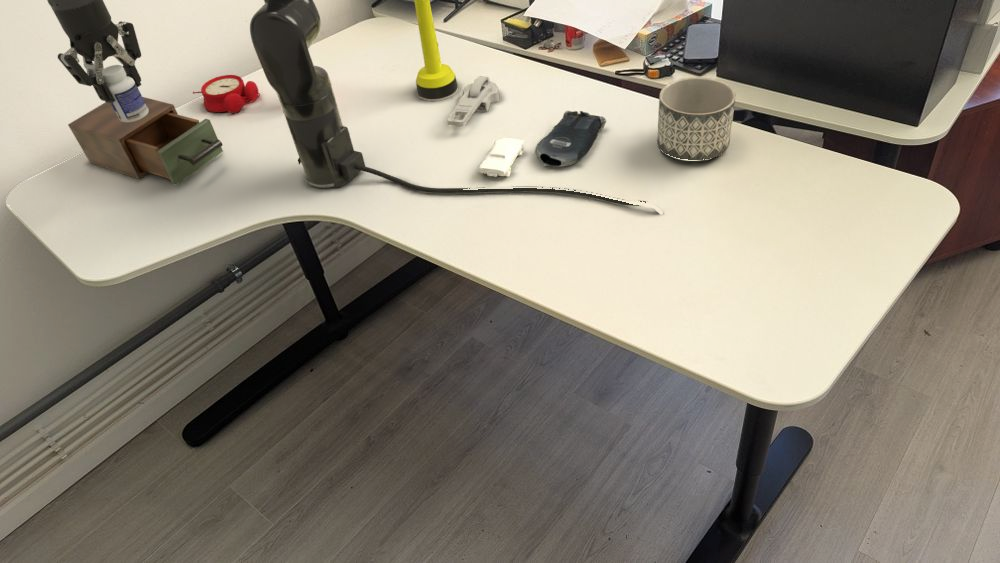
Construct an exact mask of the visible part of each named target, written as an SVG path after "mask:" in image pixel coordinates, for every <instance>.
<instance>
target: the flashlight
mask: <svg viewBox="0 0 1000 563" xmlns="http://www.w3.org/2000/svg"><path fill="white" fill-rule="evenodd" d="M413 2H414V8H415V14H416V20H417V26H418V31H419V32H418V33H419V38H420V44H421V50H422V56H423V63H424V66H423V67H421V68H420V69H419V70H418V72H417V75H416V78H415V86H416V95H417V97H418V98H419V99H421V100H424V101H427V102H440V101H444V100H447V99H450V98H451V97H453V96H454V95H456V94H457V93H458V90H459V85H458V81H457V77H456V74H455V72H454V71H453V69H452V68H451V66H450V65H448V64H445V63H442V60H441V54H440V49H439V42H438V38H437V33H436V28H435V24H434V23H435V22H434V18H433V12H432V7H431V2H430V0H413Z"/></svg>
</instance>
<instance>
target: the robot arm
mask: <svg viewBox="0 0 1000 563" xmlns="http://www.w3.org/2000/svg"><path fill="white" fill-rule="evenodd" d="M46 1H47V4H48V5H49V6H50V8H51V9H52V12H53V14H54V15H55V17H56V19H57V21H58V23H59V25H60V26H61V29H62V30H63V32H64V33H65V35H66V36H67V38H68V39H69V46H70V47H69V49H68V50H66V51H65V52H64V53H61V52H60V53H58V54H57V60H59V62H60V63H61V64H62V66H63V67H64V69H66V70H67V71H68V73H69V74H70V75H71V76H72V77H73V79H74V80H75V81H76V82H77V83H78V84H79V85H83V86H88V87H92V88H93V89H94V91H95V93H96V95H97V96H98V98H99V100H100V101H102V102H104V103H105V102H107V103H113V102H114V101H115V99H114V97H113V96H112V94H111V92H110V90H109V88H108V86H107V84H106V82H104V80H103V73H102V70H103V69H104V62H105V61H106V60H107V59H108V58H109V57H114V58H115V59H116V61H118V62H119V63H120V65H121V66H122V67H123V68H124V70H125V72H126V76H129V77H131V78H132V79H133V80H134V81H135V83H136V85H137V87H138V88H139V87H141V86H142V83H141V82H142V77H141V75H140V73H139V70H138V68H137V67H136V61H137V59H140V58H141V57H142V52H141V48H140V43H139V40H138V37H137V33H136V30H135V26H134V24H133V23H132V22H129V21H122V20H121V21H119V22H118V23H116V24H115V23H114V22H113V21H112V16H111V13H110V11H109V9H108V8H107V5H106V3H105V2H104V0H46ZM263 2H264V4H263V5H262V6H261V7H260V8H259V9H258V10H257V11H256V12H255V13H254V14H253V16H252V17H251V20H250V23H249V34H250V40H251V42H252V45H253V48H254V52H255V54H256V56H257V59H258V61H259V64H260V66H261V68H262V71H263V73H264V75H265V78H266V80H267V82H268V84H269V85H270V87H271V88H272V89H273V90H274V91H275V92H276V95H277V98H278V99H279V102H280V106H281V109H282V112H283V114H284V118H285V121H286V123H287V126H288V129H289V132H290V135H291V138H292V141H293V144H294V146H295V149H296V152H297V155H298V158H297V163H298V165H299V166H300V165H301V166H302V169H303V172H304V175H305V176H304V177H305V180H306V182H307V184H308V185H310V186H311V187H314V188H318V189H330V188H338V189H339V188H341V187H343V186H344V185H345V184H346V183H347V182H349V181H352V180H353V178H355V177H356V176H357V175H359V173H360V172H366V173H368V174H372V175H375V176H377V177H380V178H382V179H385V180H387V181H390V182H393V183H396V184H398V185H400V186H402V187H405V188H408V189H410V190H414V191H417V192H422V193H430V194H479V193H480V194H482V193H483V194H485V193H516V192H517V193H520V192H521V193H523V192H529V193H533V192H534V193H553V194H564V195H573V196H579V197H585V198H591V199H595V200H599V201H604V202H608V203H612V204H616V205H621V206H627V207H628V206H629V207H630V206H632V207H640V206H639V205H633V204H629V203H626V202H622V201H618V200H613V199H609V198H605V197H601V196H596V195H592V194H586V193H580V192H574V191H576V190H577V189H573V190H574V191H566V190H555V189H553V188H554V186H553V187H552V186H549V187H550V188H551V187H552V189H537V188H513V189H478V190H463V189H468V188H469V189H470V188H471V187H429V186H428V187H427V186H421V185H417V184H413V183H410V182H408V181H407V180H403V179H401V178H398V177H395V176H394V175H391V174H389V173H385V172H383V171H380V170H378V169H375V168H371V167H370V166H366V164H365V163H366V162H365V159H364V155H363V153H362V152H361V151H358V150H355V148H354V145H353V141H352V138H351V135H350V131H349V128H348V127H347V126H346V125H344V124H343V120H342V117H341V114H340V111H339V108H338V107H339V106H338V103H337V100H336V96H335V93H334V89H333V86H332V83H331V82H332V81H331V78H330V76H329V73H328V71H326V69H325V68H323V67H320V66H318V65H314V62H313V60H312V57H311V53H310V50H309V48H310V47H312V45H313V44H314V42H315V41H316V40H317V39H318V37H319V34H320V31H321V28H322V22H321V17H320V16H321V15H320V13H319V10H318V8H317V6H316V4H315V2H314V0H263ZM119 36H121V41H122V45H123V46H122V45H121V44H120V43H119ZM78 55H79V56H81V57H82V62H83V67H84V68H83V67H82V65H80V59H79V57H78ZM541 187H542V188H543V187H544V186H541ZM483 188H485V187H483ZM558 188H559V189H560V188H561V187H558ZM564 189H566V188H564ZM567 189H568V190H569V189H570V188H567ZM590 192H591V191H590ZM591 193H593V192H591ZM599 194H600V195H602V194H601V193H599ZM616 198H617V197H616ZM617 199H619V198H617ZM622 200H624V198H623V199H622ZM639 201H640V202H642V201H643V202H645V203H646V200H639Z"/></svg>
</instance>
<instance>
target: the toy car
mask: <svg viewBox="0 0 1000 563" xmlns="http://www.w3.org/2000/svg"><path fill="white" fill-rule="evenodd" d="M524 142H525V141H524V140H522V139H518V138H510V137H509V138H508V137H501V138H500V139H499V140H496V141H494V144H493V147H492V148H491V150H490V151H489V152H488V154H487V155H486V157H484V159H483V160H482V161H481V162H480V166H479V167H478V169H477V172H478V173H480V174H483V173H484V175H485V174H486V175H487V176H488V177H495V178H496V177H497V178H498V176H500V177H510V175H511V172H512V166H513V165H514V162H515V160H516V159H517V157H518V156H522V155H523V152H524ZM509 169H510V170H509ZM506 173H508V174H506Z"/></svg>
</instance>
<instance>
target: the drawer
mask: <svg viewBox="0 0 1000 563" xmlns="http://www.w3.org/2000/svg"><path fill="white" fill-rule="evenodd" d="M177 114H178V113H177ZM177 114H173V113H170V112H168V113H166V114H165V115H163V116H162V117H160V118H159V119H157V120H156V121H154V122H153V123H151V124H149V125H148V126H146V127H145V128H143V129H142V130H140V131H139V132H137V133H135V134H134V135H132V136H131V137H129V138H128V139H126V140H125V141H124V142H125V144H126V146H127V148H128V150H129V152H130V154H131V156H132V157H133V159H134V161H135V163H136V165H137V167H138V169H139V170H143V171H146V172H149V173H148V174H153V175H155V176H159V177H162V178H165V179H168V180H170V182H171V184H172V185H174V186H178V185H179V184H180V183H183V181H185V180H186V179H188V178H189V177H190V176H191V175H193V174H194V173H196V172H197V171H198V170H200V169H201V168H202V167H204V166H205V165H207V164H208V163H209V162H210V161H213V159H215V158H216V157H217V156H218V155H220V154H222V153H223V152H224V150H223V147H222V146H223V143H222V141H221V140H220V139H219V138H218V136H217V134H216V131H215V129H214V126H213V124H212V122H211V120H210V119H208V118H204V119H202V120H201V121H200V120H199V119H197V118H193V117H189V116H184V115H181V114H178V115H177Z"/></svg>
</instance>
